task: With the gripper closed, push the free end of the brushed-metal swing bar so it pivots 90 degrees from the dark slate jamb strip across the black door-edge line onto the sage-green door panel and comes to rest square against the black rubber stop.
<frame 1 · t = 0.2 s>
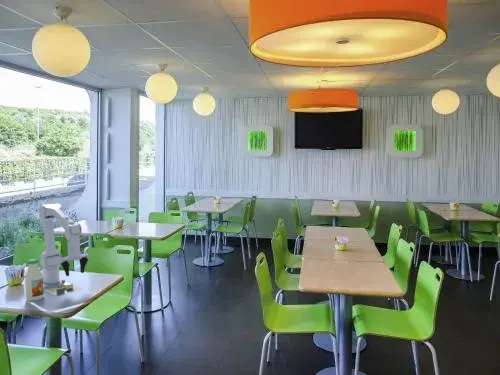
hand: (74, 274, 220), 10 cm above the table, fingers open, 7 cm apart
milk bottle: (35, 300, 211), on the table
swing bar: (66, 284, 225), point 3 cm above the table, hinge at 0.0°
latch board: (63, 291, 224), on the table
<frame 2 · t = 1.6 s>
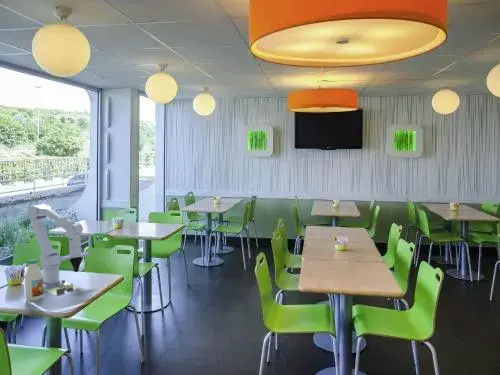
hand: (76, 271, 231), 8 cm above the table, fingers closed
nothing on the table moved.
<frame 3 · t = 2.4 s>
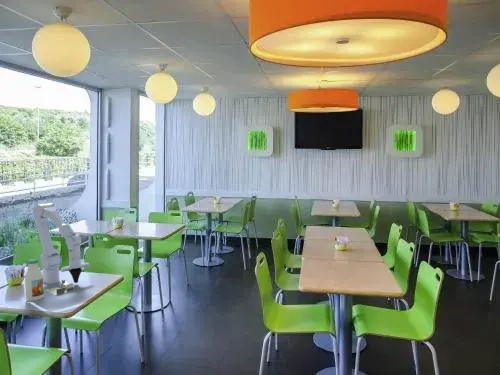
hand: (75, 282, 231), 2 cm above the table, fingers closed
nothing on the table moved.
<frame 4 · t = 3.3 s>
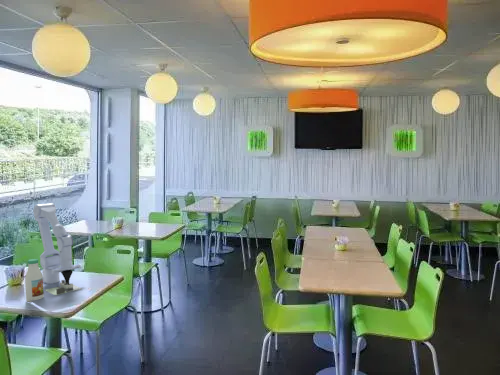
hand: (67, 284, 228), 2 cm above the table, fingers closed, pressing on swing bar
swing bar: (66, 284, 225), point 3 cm above the table, hinge at 0.6°, touching gripper
everything else where it was.
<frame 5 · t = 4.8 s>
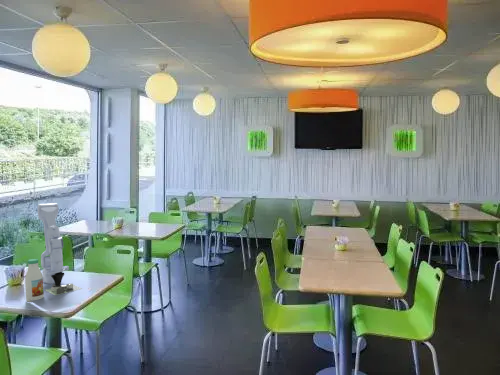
hand: (58, 287, 224), 2 cm above the table, fingers closed, pressing on swing bar
swing bar: (62, 286, 222), point 3 cm above the table, hinge at 56.1°, touching gripper
everything else where it was.
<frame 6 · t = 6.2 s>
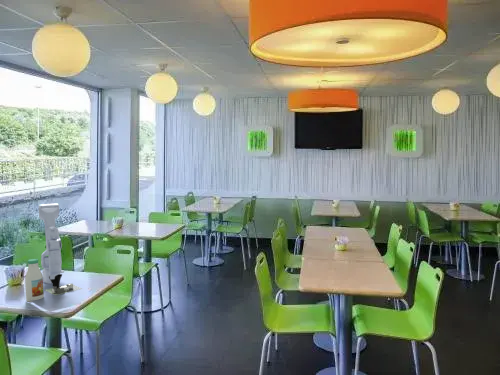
hand: (56, 289, 220), 2 cm above the table, fingers closed, pressing on swing bar
swing bar: (63, 287, 220), point 3 cm above the table, hinge at 89.5°, touching gripper
everything else where it was.
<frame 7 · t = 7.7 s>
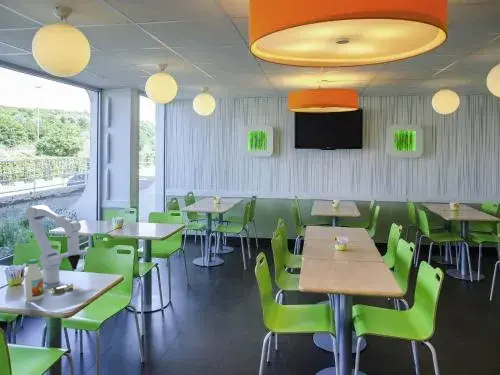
hand: (74, 269, 231), 9 cm above the table, fingers closed
swing bar: (63, 287, 220), point 3 cm above the table, hinge at 89.7°
everything else where it was.
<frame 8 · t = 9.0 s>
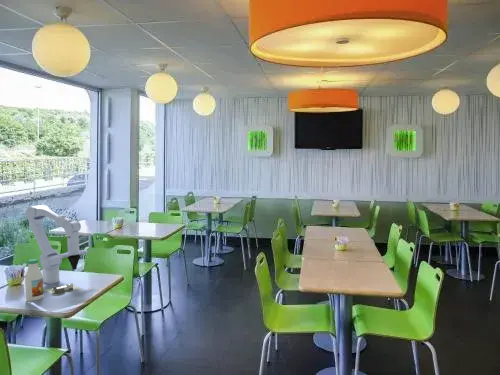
hand: (74, 269, 231), 9 cm above the table, fingers closed
nothing on the table moved.
at the end: swing bar at +90° (first picture: +0°) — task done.
